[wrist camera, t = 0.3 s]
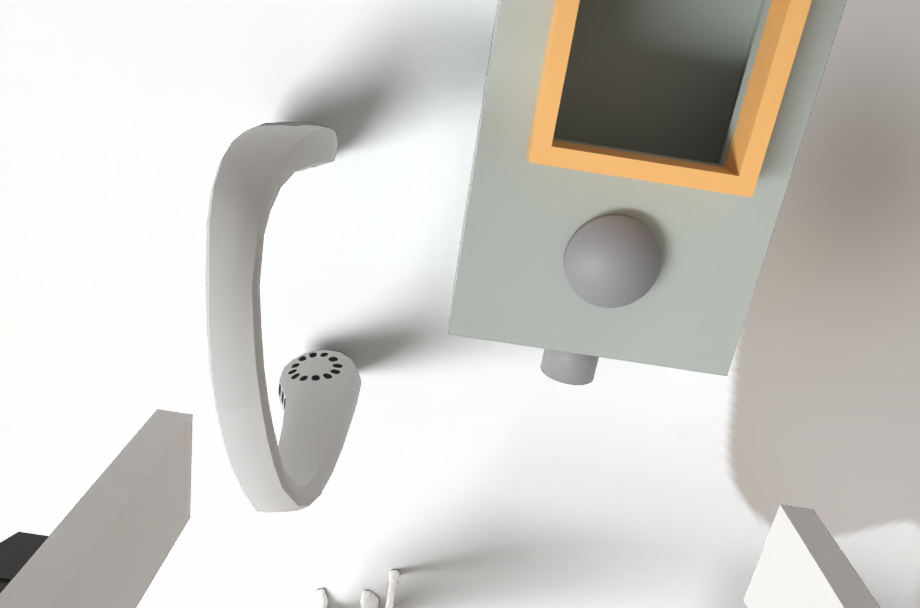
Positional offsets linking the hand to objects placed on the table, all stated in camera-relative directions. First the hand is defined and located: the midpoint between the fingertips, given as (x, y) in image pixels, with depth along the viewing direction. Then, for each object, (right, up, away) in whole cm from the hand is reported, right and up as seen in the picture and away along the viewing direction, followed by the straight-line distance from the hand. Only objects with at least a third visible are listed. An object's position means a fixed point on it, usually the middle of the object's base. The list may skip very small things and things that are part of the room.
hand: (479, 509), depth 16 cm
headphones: (-9, +7, +27) cm, 29 cm away
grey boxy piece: (+7, +13, +24) cm, 28 cm away
